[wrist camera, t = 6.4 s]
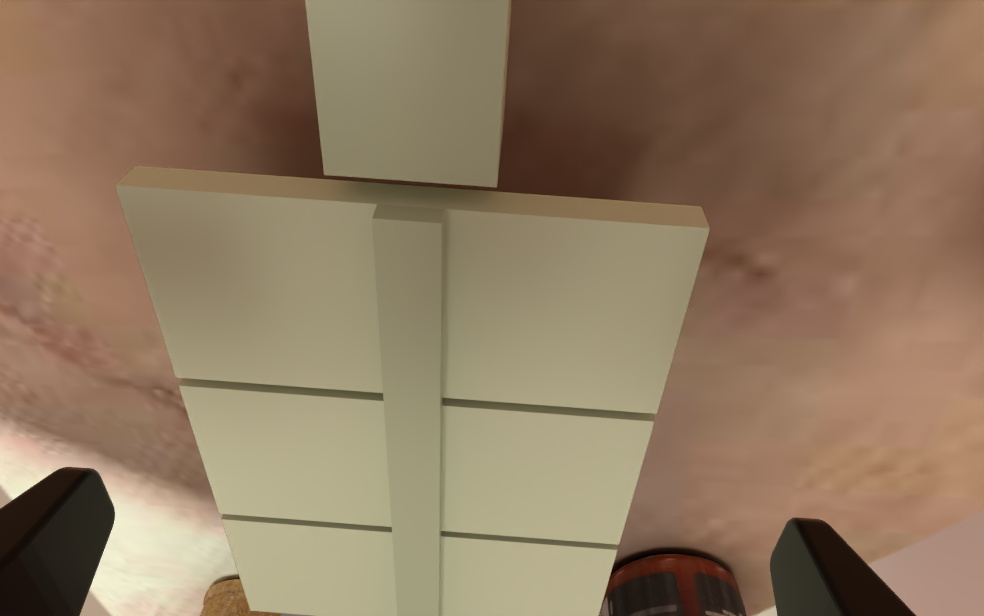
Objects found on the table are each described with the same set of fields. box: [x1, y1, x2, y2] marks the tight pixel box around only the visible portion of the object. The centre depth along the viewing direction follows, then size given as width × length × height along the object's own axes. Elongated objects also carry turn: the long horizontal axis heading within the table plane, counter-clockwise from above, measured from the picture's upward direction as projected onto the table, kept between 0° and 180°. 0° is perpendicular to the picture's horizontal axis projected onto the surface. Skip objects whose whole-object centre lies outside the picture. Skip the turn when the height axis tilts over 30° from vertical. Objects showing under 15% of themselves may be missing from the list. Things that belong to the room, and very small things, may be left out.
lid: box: [115, 0, 710, 616], centre depth 16 cm, size 20×11×4 cm, turn 177°
